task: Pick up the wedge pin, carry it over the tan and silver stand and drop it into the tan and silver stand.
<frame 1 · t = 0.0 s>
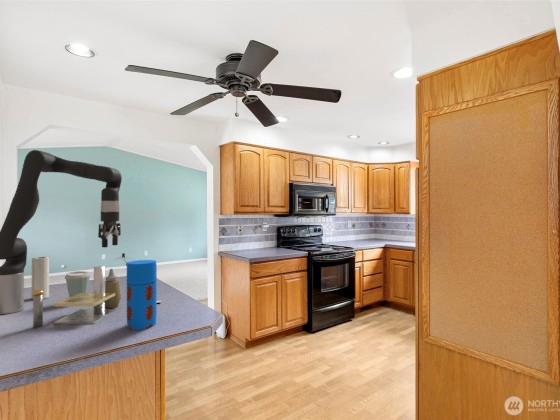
hand: (110, 246, 139), 29 cm above the counter, tool pointing down, fingers open, 8 cm apart
thermos: (141, 325, 120), on the counter
squeeze bottle: (111, 307, 143), on the counter
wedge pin: (37, 327, 118), on the counter
tan and silver stand: (86, 317, 129), on the counter
disposable coffee cup: (77, 302, 151), on the counter
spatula: (142, 300, 157), on the counter
paper towel roll: (41, 298, 160), on the counter
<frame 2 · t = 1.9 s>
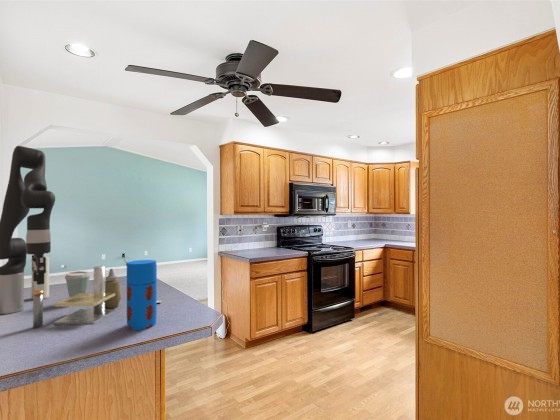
hand: (38, 282, 119), 17 cm above the counter, tool pointing down, fingers open, 8 cm apart
nothing on the counter moved.
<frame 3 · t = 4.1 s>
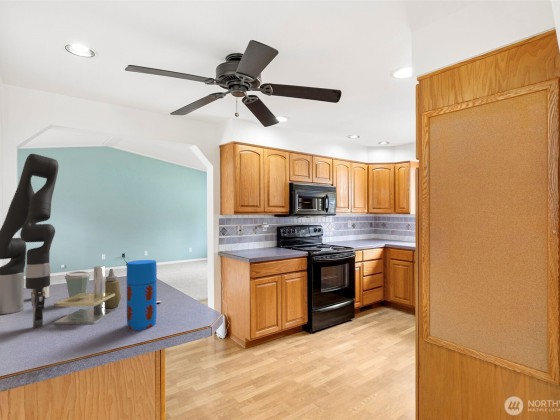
hand: (37, 318, 118), 3 cm above the counter, tool pointing down, fingers closed on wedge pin, 3 cm apart
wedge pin: (37, 327, 118), on the counter, touching gripper
everything else where it was.
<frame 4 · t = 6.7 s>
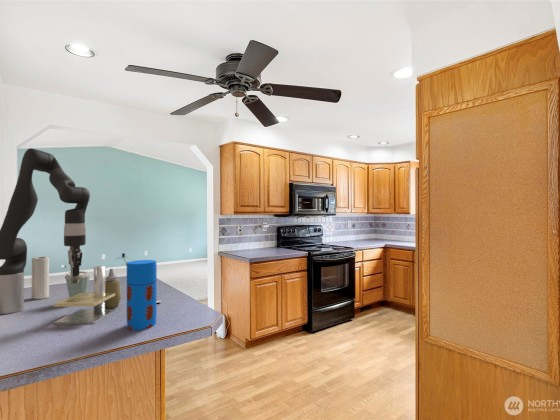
hand: (74, 275, 127), 19 cm above the counter, tool pointing down, fingers closed on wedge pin, 3 cm apart
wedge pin: (74, 282, 127), point 15 cm above the counter, touching gripper
everything else where it was.
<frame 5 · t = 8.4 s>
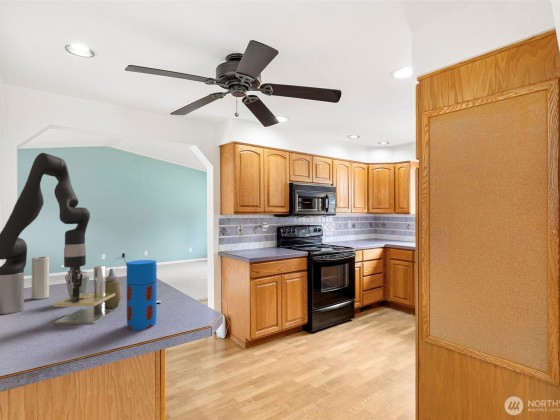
hand: (75, 295, 127), 10 cm above the counter, tool pointing down, fingers closed on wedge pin, 3 cm apart
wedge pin: (75, 303, 127), point 7 cm above the counter, touching gripper
everything else where it was.
when the fingers open (9 cm above the counter, at t = 9.5 s): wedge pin drops 5 cm, resting on tan and silver stand.
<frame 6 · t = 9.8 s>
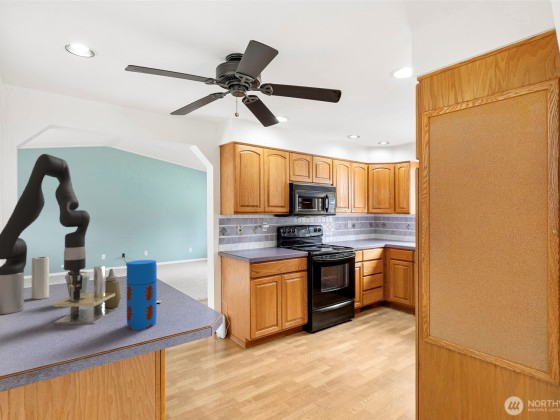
hand: (74, 298, 126), 9 cm above the counter, tool pointing down, fingers open, 5 cm apart
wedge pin: (74, 317, 127), point 1 cm above the counter, touching tan and silver stand
everything else where it was.
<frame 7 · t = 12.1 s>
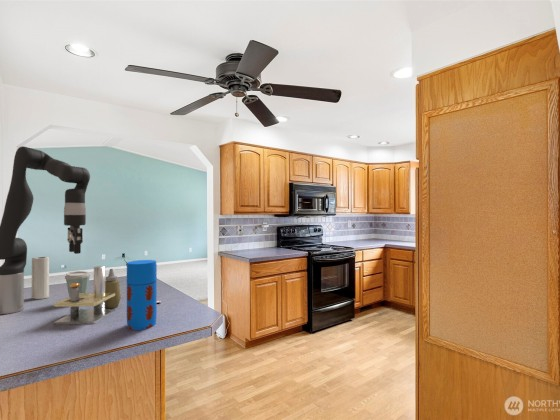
hand: (74, 252, 127), 28 cm above the counter, tool pointing down, fingers open, 8 cm apart
nothing on the counter moved.
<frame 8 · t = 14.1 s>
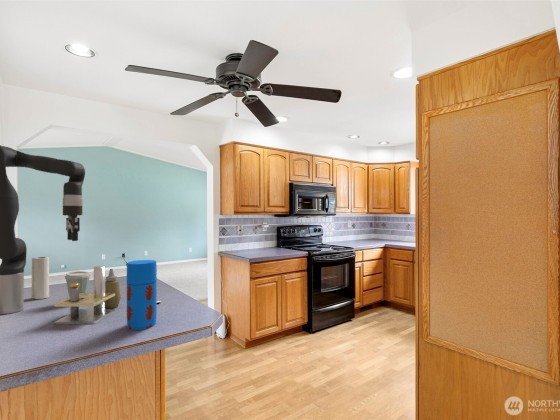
hand: (72, 240, 139), 32 cm above the counter, tool pointing down, fingers open, 8 cm apart
nothing on the counter moved.
at the end: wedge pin 0.2 cm from the target spot on the tan and silver stand, point 0.8 cm above the tan and silver stand's base; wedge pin tilted 0°; the gripper is holding nothing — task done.
